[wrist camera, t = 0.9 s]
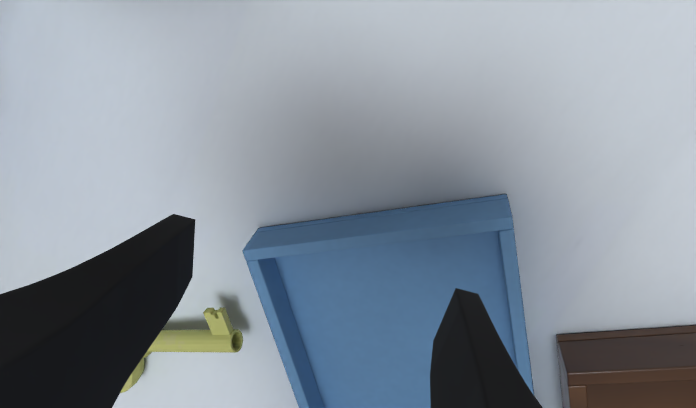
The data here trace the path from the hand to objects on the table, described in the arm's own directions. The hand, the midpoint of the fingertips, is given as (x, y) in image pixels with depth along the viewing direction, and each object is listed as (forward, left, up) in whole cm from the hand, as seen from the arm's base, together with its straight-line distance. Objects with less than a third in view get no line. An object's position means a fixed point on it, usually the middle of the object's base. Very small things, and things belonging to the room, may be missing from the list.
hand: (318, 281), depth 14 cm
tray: (-11, 0, -11) cm, 15 cm away
